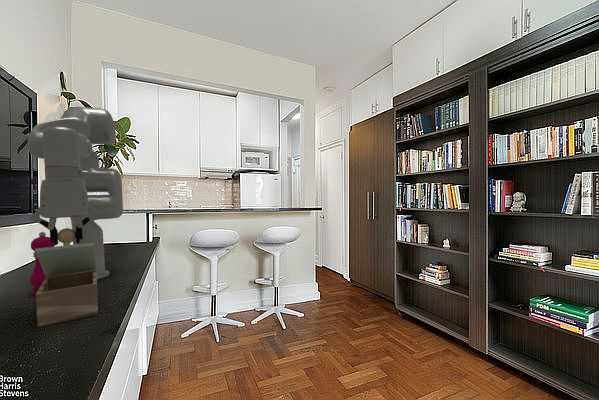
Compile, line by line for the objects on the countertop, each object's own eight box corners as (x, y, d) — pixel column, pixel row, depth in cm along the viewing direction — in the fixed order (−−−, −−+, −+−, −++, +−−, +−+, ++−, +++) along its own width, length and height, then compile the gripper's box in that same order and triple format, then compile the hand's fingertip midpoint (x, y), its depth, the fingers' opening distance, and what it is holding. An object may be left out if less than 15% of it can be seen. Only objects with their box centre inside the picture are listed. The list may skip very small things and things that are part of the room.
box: (47, 305, 86) (45, 277, 86) (97, 295, 93) (96, 270, 93) (37, 327, 71) (35, 294, 71) (98, 314, 78) (96, 284, 78)
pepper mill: (43, 296, 94) (39, 233, 93) (24, 295, 95) (21, 233, 95) (65, 289, 101) (62, 230, 101) (48, 288, 103) (44, 230, 102)
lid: (45, 277, 86) (46, 256, 89) (96, 269, 93) (95, 251, 95) (34, 250, 73) (35, 227, 75) (94, 244, 80) (93, 223, 82)
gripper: (101, 176, 87) (104, 238, 88) (23, 175, 78) (27, 245, 78) (101, 174, 81) (105, 241, 81) (17, 173, 72) (22, 249, 72)
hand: (67, 242), depth 80 cm, fingers closed on lid, 4 cm apart
